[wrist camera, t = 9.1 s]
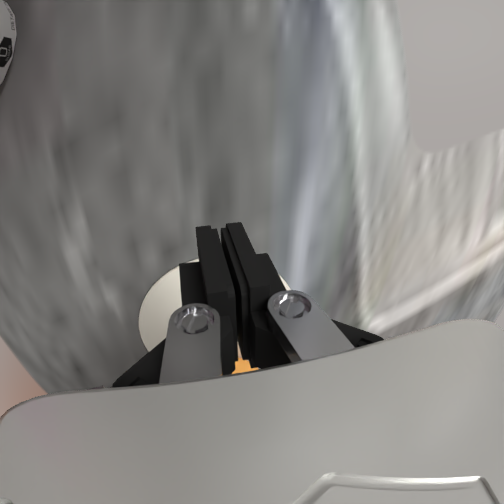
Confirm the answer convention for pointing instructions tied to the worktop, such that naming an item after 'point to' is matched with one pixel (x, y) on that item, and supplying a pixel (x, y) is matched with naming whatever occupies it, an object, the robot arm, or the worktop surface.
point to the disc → (163, 308)
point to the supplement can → (6, 37)
